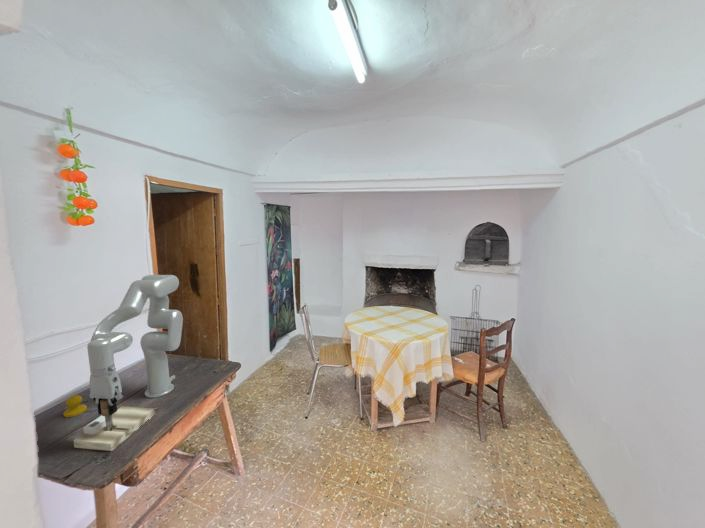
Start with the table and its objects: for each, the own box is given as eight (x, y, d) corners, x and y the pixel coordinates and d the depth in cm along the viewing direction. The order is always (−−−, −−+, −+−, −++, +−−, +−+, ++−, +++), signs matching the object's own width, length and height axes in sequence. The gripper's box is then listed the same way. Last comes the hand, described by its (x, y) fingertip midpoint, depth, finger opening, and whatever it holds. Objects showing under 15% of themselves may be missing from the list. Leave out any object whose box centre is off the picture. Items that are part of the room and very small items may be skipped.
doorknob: (78, 405, 146) (91, 408, 144) (59, 415, 138) (72, 418, 136) (76, 390, 145) (89, 393, 143) (56, 400, 137) (69, 403, 135)
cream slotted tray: (122, 412, 140) (122, 406, 140) (154, 414, 139) (154, 408, 138) (74, 447, 119) (73, 440, 118) (111, 450, 117) (110, 443, 117)
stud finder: (102, 420, 130) (101, 415, 130) (112, 421, 130) (111, 415, 129) (84, 433, 122) (83, 427, 122) (94, 434, 122) (93, 428, 121)
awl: (109, 423, 127) (106, 396, 125) (118, 423, 127) (115, 396, 125) (100, 429, 123) (97, 401, 122) (109, 430, 123) (106, 402, 121)
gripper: (129, 366, 124) (134, 408, 127) (92, 364, 126) (98, 406, 129) (113, 375, 117) (118, 420, 119) (74, 373, 119) (80, 417, 121)
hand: (108, 412), depth 124 cm, fingers closed on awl, 4 cm apart
